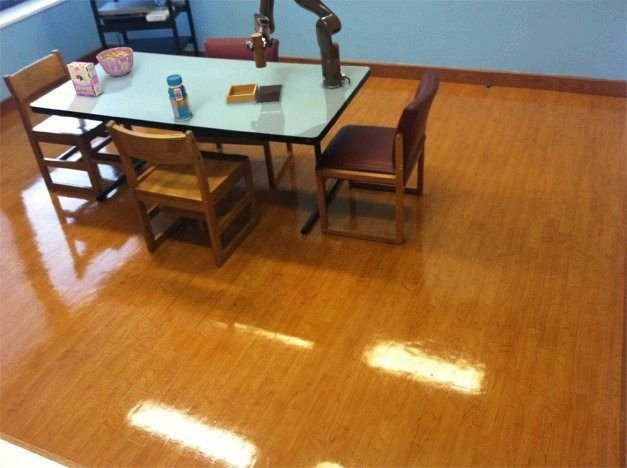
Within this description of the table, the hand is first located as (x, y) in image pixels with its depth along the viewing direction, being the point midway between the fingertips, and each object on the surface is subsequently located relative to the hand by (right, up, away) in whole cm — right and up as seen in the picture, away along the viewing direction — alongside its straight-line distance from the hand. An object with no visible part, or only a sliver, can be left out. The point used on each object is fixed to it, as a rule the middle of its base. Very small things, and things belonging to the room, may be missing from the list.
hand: (257, 49), depth 277 cm
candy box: (-93, -11, +40) cm, 101 cm away
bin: (-9, -18, +17) cm, 26 cm away
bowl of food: (-83, +5, +60) cm, 102 cm away
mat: (+4, -17, +16) cm, 24 cm away
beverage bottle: (-35, -31, +4) cm, 47 cm away
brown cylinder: (+1, -6, +7) cm, 9 cm away
